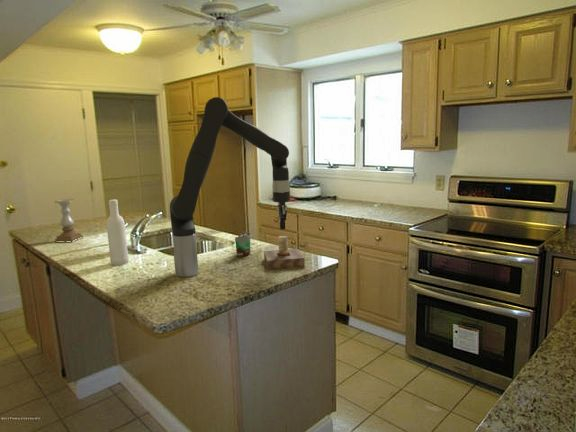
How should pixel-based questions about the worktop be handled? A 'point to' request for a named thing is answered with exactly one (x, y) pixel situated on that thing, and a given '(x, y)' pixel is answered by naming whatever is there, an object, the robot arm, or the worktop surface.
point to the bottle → (116, 236)
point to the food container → (243, 244)
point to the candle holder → (67, 222)
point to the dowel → (283, 246)
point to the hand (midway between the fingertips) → (282, 229)
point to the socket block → (284, 259)
